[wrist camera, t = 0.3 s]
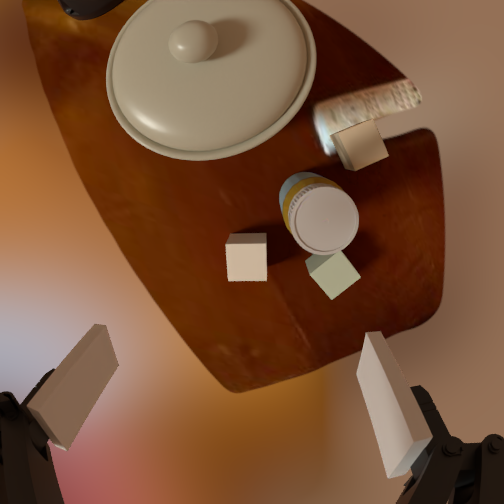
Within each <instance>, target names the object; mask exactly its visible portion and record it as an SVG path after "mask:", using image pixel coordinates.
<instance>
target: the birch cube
mask: <svg viewBox="0 0 504 504" xmlns="http://www.w3.org/2000/svg"><path fill="white" fill-rule="evenodd" d="M330 137H331V140H332V142H333V144H334V146H335V148H336V150H337V152H338V154H339V157H340V159H341V161H342V163H343V165H344V168H345V169H348V170H353V171H356V170H359V169H361V168H363V167H365V166H368V165H370V164H372V163H374V162H377V161H379V160H381V159H383V158H386V157H388V156H389V155H388V152H387V150H386V147H385V145H384V143H383V140H382V138H381V136H380V134H379V131H378V129H377V127H376V125H375V122H374V120H373V119H371V120H367V121H364V122H361V123H359V124H356V125H354V126H351V127H349V128H346V129H344V130H342V131H339V132H337V133H334V134H332V135H330Z"/></svg>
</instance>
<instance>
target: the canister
mask: <svg viewBox="0 0 504 504" xmlns="http://www.w3.org/2000/svg"><path fill="white" fill-rule="evenodd" d="M315 71H316V46H315V41H314V37H313V34H312V31H311V29H310V27H309V25H308V23H307V21H306V19H305V18H304V16H303V15H302V13H301V12H300V11H299V9H298V8H297V7H296V6H295V5H294V4H293V3H292V2H291V1H290V0H149V1H147V2H146V3H145V4H144V5H143V6H141V7H140V8H139V9H138V10H137V11H136V12H135V13H134V14H133V15H132V16H131V17H130V19H129V20H128V21H127V22H126V24H125V25H124V27H123V28H122V30H121V31H120V33H119V34H118V36H117V38H116V40H115V42H114V45H113V47H112V50H111V53H110V56H109V60H108V65H107V72H106V86H107V94H108V98H109V102H110V105H111V108H112V110H113V113H114V115H115V116H116V118H117V120H118V122H119V123H120V124H121V126H122V127H123V128H124V130H125V131H126V132H127V133H128V134H129V135H130V136H131V137H132V138H133V139H135V140H136V141H137V142H139V143H140V144H141V145H143V146H145V147H146V148H148V149H150V150H152V151H154V152H156V153H159V154H162V155H165V156H168V157H172V158H176V159H183V160H213V159H220V158H225V157H229V156H233V155H236V154H239V153H242V152H245V151H247V150H249V149H252V148H254V147H256V146H258V145H259V144H261V143H263V142H265V141H266V140H268V139H269V138H271V137H272V136H274V135H275V134H276V133H277V132H279V131H280V130H281V129H282V128H283V127H284V126H286V125H287V124H288V123H289V121H290V120H291V119H292V118H293V117H294V116H295V115H296V113H297V112H298V111H299V109H300V108H301V106H302V105H303V103H304V101H305V100H306V98H307V96H308V94H309V91H310V89H311V86H312V83H313V80H314V76H315Z"/></svg>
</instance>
